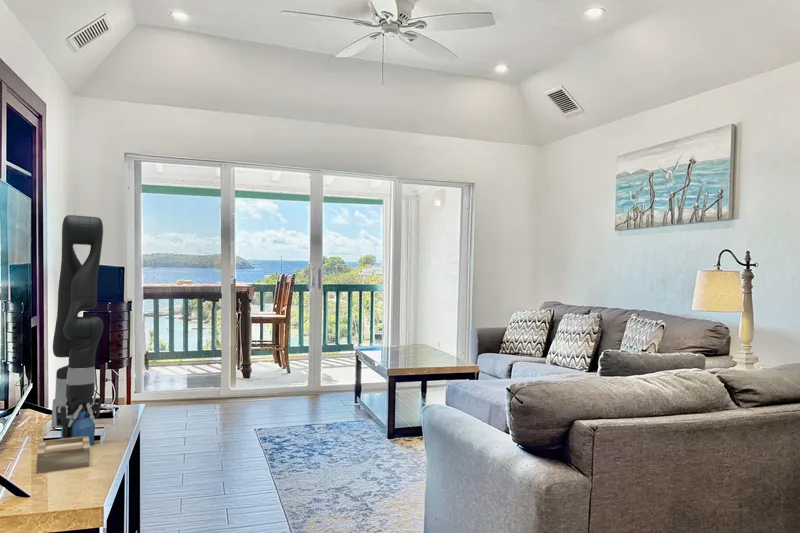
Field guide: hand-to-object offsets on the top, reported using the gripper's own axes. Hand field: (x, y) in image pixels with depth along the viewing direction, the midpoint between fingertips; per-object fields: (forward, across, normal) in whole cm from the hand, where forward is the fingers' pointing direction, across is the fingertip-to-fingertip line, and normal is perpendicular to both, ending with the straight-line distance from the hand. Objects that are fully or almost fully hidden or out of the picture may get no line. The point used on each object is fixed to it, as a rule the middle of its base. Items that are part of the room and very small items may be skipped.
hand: (77, 435), depth 161 cm
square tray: (+3, +12, +9) cm, 15 cm away
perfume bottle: (+3, 0, 0) cm, 3 cm away
